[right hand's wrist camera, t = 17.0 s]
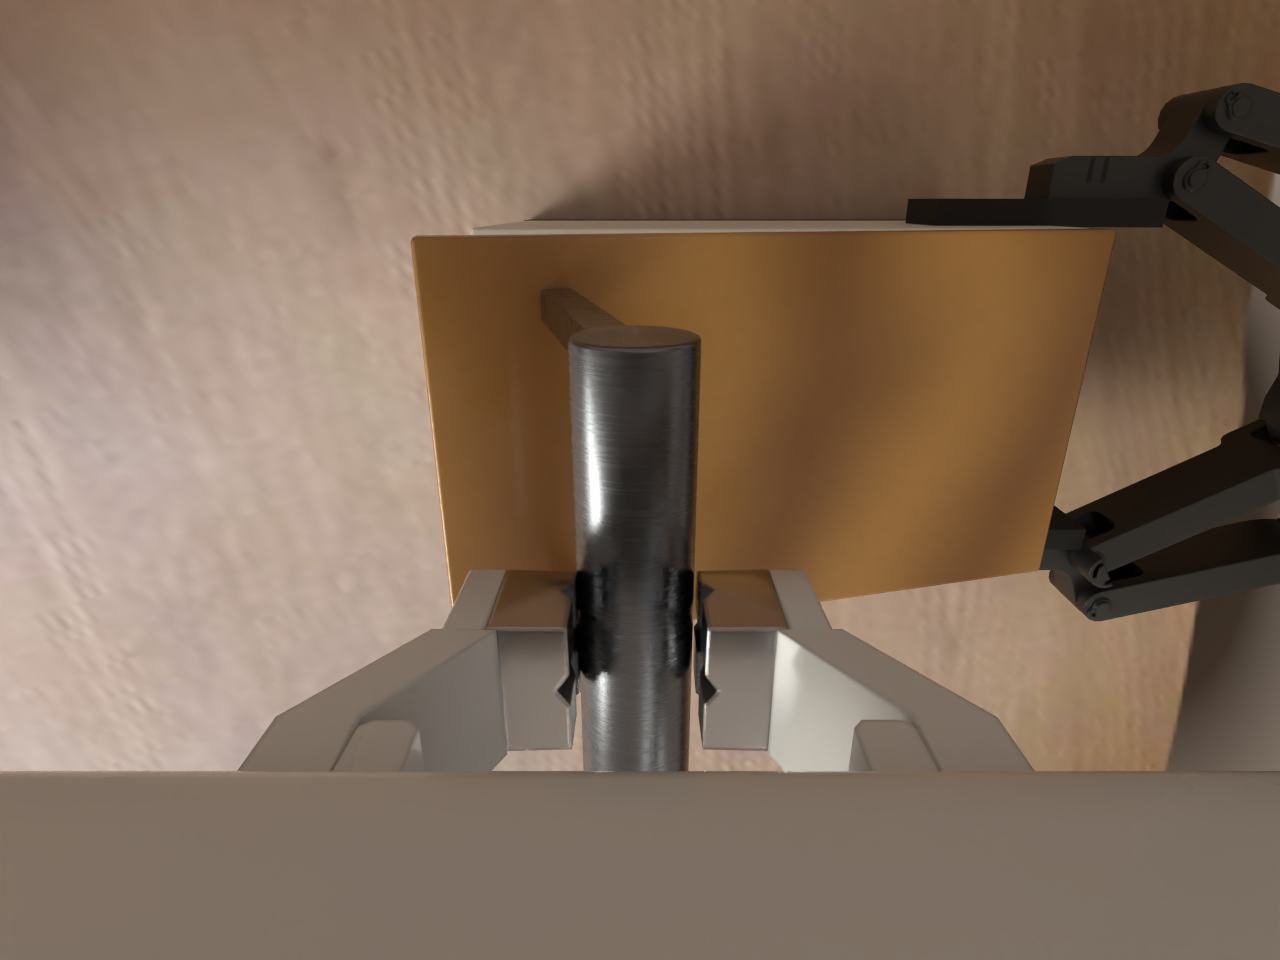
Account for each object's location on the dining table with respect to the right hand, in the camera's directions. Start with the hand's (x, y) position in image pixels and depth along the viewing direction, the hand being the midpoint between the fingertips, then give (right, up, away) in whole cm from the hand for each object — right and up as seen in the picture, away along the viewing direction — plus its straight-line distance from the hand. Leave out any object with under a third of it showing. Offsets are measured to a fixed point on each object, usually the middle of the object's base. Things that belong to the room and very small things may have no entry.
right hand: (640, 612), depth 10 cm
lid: (+4, +3, +8) cm, 9 cm away
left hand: (+9, +5, +13) cm, 17 cm away
